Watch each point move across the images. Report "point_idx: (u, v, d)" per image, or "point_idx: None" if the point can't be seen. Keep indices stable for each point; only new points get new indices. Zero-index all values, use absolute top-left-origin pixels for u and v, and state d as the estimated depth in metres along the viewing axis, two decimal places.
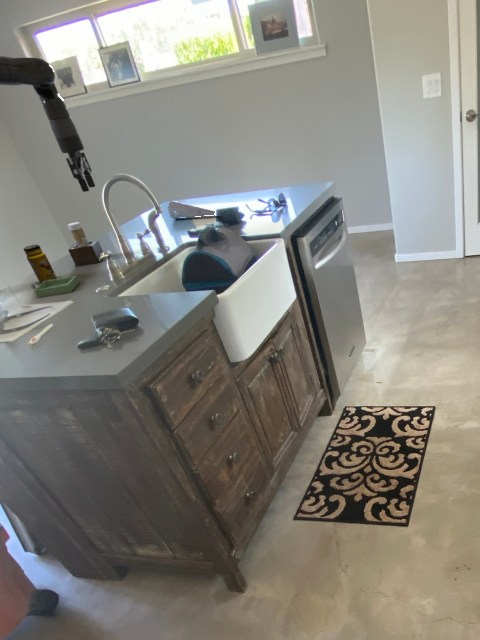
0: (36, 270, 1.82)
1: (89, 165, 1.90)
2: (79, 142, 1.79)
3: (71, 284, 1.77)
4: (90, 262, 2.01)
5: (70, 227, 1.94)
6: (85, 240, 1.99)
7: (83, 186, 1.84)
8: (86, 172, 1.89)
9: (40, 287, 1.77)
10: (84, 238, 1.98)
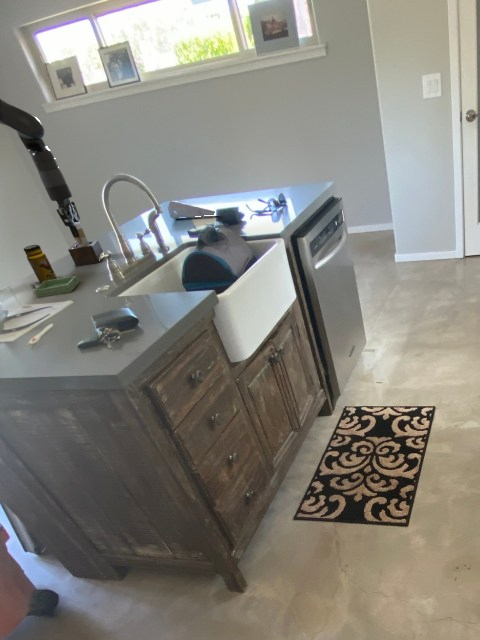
0: (36, 270, 1.82)
1: (78, 214, 1.98)
2: (67, 190, 1.88)
3: (71, 284, 1.77)
4: (90, 262, 2.01)
5: None
6: (85, 240, 1.99)
7: (74, 233, 1.94)
8: (74, 220, 1.97)
9: (40, 287, 1.77)
10: (84, 238, 1.98)
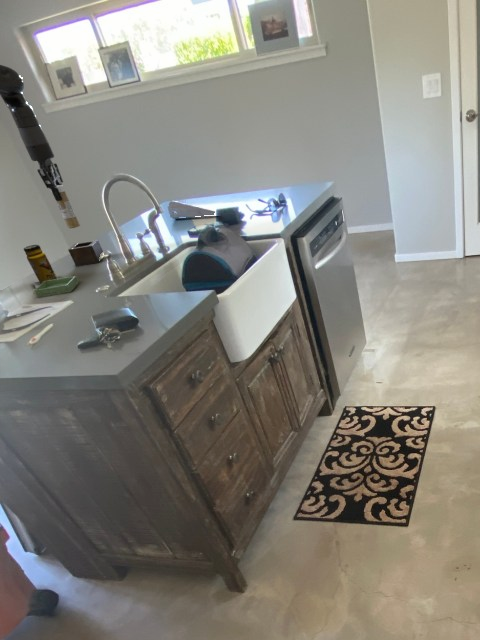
0: (36, 270, 1.82)
1: None
2: (49, 150, 1.79)
3: (71, 284, 1.77)
4: (90, 262, 2.01)
5: None
6: (68, 204, 1.90)
7: (56, 195, 1.86)
8: (57, 182, 1.89)
9: (40, 287, 1.77)
10: (67, 202, 1.90)
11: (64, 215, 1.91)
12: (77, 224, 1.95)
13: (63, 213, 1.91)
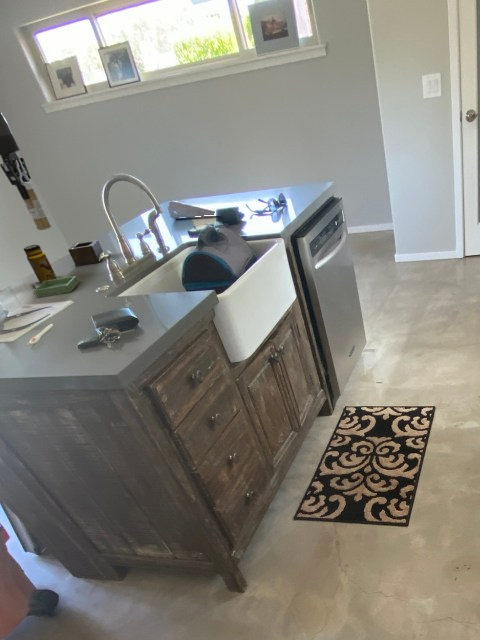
0: (36, 270, 1.82)
1: (28, 172, 1.70)
2: (13, 142, 1.60)
3: (71, 284, 1.77)
4: (90, 262, 2.01)
5: None
6: (37, 203, 1.71)
7: (23, 193, 1.66)
8: (24, 179, 1.69)
9: (40, 287, 1.77)
10: (36, 201, 1.70)
11: (33, 215, 1.72)
12: (48, 225, 1.75)
13: (31, 213, 1.71)
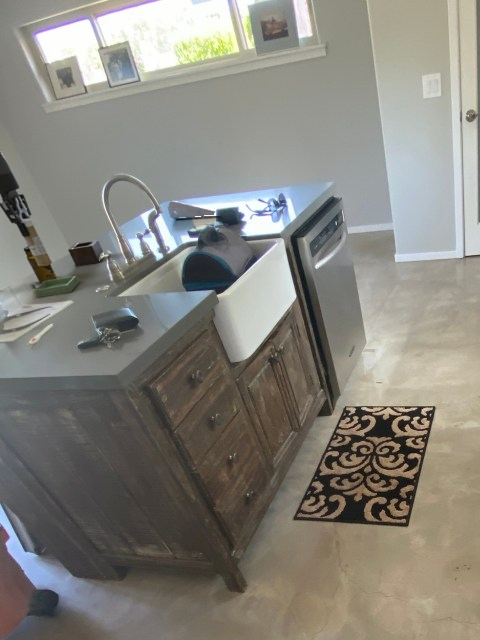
0: (36, 270, 1.82)
1: (29, 209, 1.67)
2: (13, 180, 1.57)
3: (71, 284, 1.77)
4: (90, 262, 2.01)
5: None
6: (37, 240, 1.68)
7: (23, 231, 1.63)
8: (24, 216, 1.66)
9: (40, 287, 1.77)
10: (36, 237, 1.67)
11: (33, 252, 1.69)
12: (48, 261, 1.72)
13: (32, 250, 1.68)
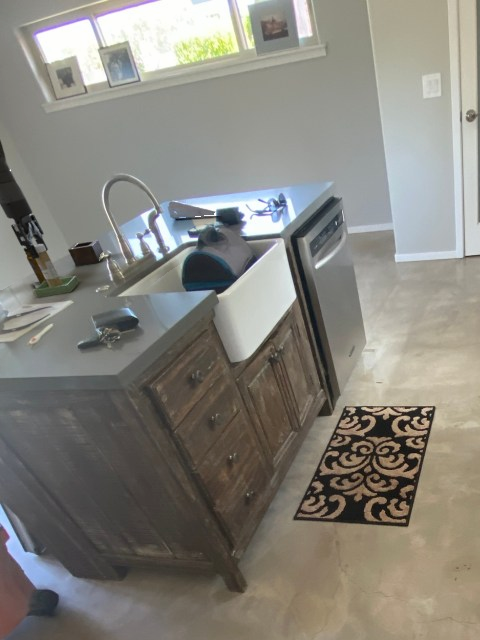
0: (36, 270, 1.82)
1: (40, 227, 1.72)
2: (26, 206, 1.61)
3: (71, 284, 1.77)
4: (90, 262, 2.01)
5: None
6: (50, 264, 1.73)
7: (32, 253, 1.66)
8: (37, 236, 1.71)
9: (40, 287, 1.77)
10: (49, 262, 1.72)
11: (46, 276, 1.74)
12: (60, 284, 1.77)
13: (44, 274, 1.73)
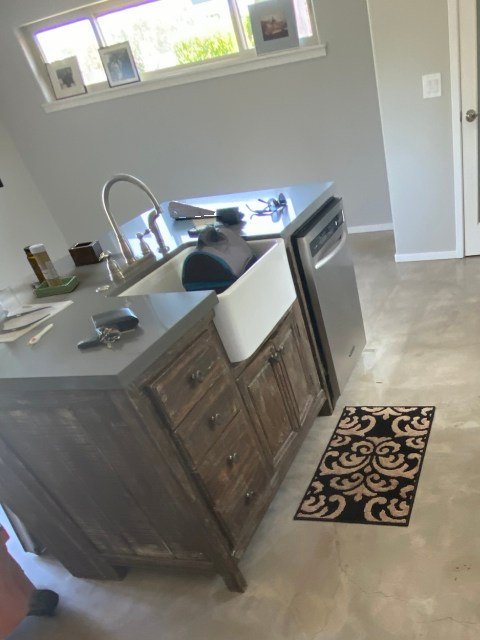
0: (36, 270, 1.82)
1: None
2: None
3: (71, 284, 1.77)
4: (90, 262, 2.01)
5: (32, 250, 1.68)
6: (50, 264, 1.73)
7: None
8: None
9: (40, 287, 1.77)
10: (49, 262, 1.72)
11: (46, 276, 1.74)
12: (60, 284, 1.77)
13: (44, 274, 1.73)
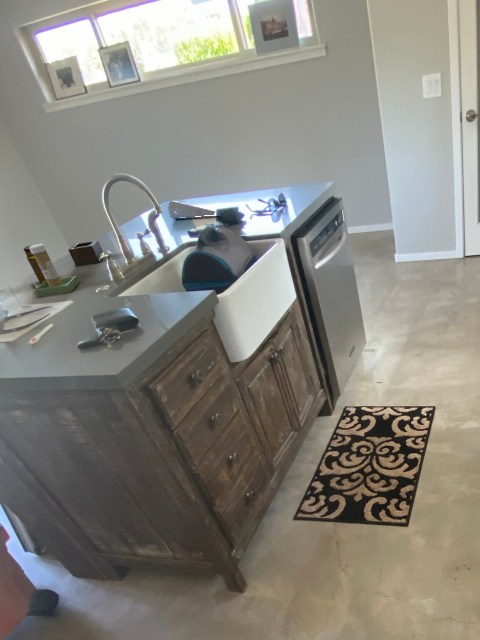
0: (36, 270, 1.82)
1: None
2: None
3: (71, 284, 1.77)
4: (90, 262, 2.01)
5: (32, 250, 1.68)
6: (50, 264, 1.73)
7: None
8: None
9: (40, 287, 1.77)
10: (49, 262, 1.72)
11: (46, 276, 1.74)
12: (60, 284, 1.77)
13: (44, 274, 1.73)
